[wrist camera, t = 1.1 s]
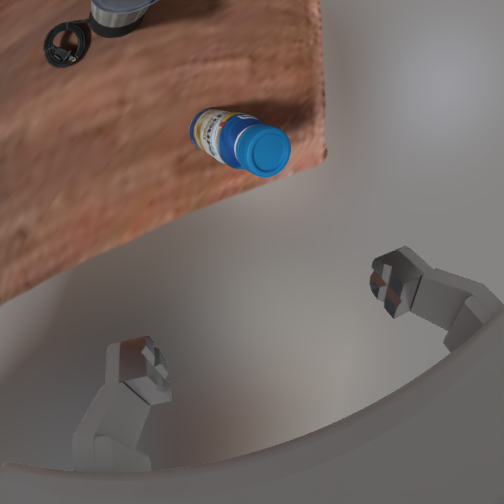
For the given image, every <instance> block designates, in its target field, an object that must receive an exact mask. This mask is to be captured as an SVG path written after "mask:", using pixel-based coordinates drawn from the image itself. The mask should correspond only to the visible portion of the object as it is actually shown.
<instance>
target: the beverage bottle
mask: <svg viewBox="0 0 504 504" xmlns="http://www.w3.org/2000/svg"><path fill="white" fill-rule="evenodd" d="M189 136H190V139H191V141H192V143H193V144H194V145H195V146H196V147H197V148H198V149H200V150H202V151H205V152H206V153H208V154H210V155H211V156H213V157H214V158H215V159H217V160H218V161H219V162H221V163H223V164H226V165H228V166H230V167H232V168H235V169H246V170H247V171H249V172H251V173H252V174H254V175H257V176H260V177H270V176H273V175H276V174H277V173H279V172H280V171H281V170H282V169H283V168H284V167H285V165H286V164H287V162H288V160H289V157H290V152H291V145H290V141H289V138H288V137H287V135H286V134H285V133H284V132H283V131H282V130H280V129H278V128H276V127H274V126H270V125H266V124H264V123H263V122H262V121H261V120H259V119H258V118H256V117H254V116H251V115H247V114H245V113H241V112H227V111H222V110H219V109H214V108H210V109H205V110H202V111H201V112H199V113H198V114H197V115H196V116H195V117H194V118H193V119H192V121H191V123H190V127H189Z"/></svg>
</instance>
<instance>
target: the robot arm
mask: <svg viewBox="0 0 504 504" xmlns="http://www.w3.org/2000/svg"><path fill="white" fill-rule="evenodd" d="M372 268H373V270H374V272H373V273H372V275H371V276H370V287H371V290H372V292H373V294H374V296H375V297H376V298H377V299H378V300H381V301H383V302H384V308H385V309H386V310H387V312H388V313H389V314H390V315H391V316H392V318H393V319H395V318H396V317H399V316H400V315H402V314H404V313H406V312H408V311H410V310H411V311H410V312H412V313H414V314H416V315H418V316H420V317H422V318H424V319H426V320H428V321H430V322H432V323H433V324H436V325H437V326H439V327H441V328H443V329H445V330H447V331H448V333H447V335H446V337H445V338H444V342H443V343H444V345H445V346H446V347H447V348H448V350H449V351H450V352H451V353H450V354H449V355H448V356H446V357H445V358H443V359H442V360H441V361H439V362H438V363H437V364H435V365H434V366H432V367H431V368H430V369H428V370H427V371H425V372H424V373H422V374H421V375H419V376H418V377H416V378H415V379H414V380H412V381H410V382H409V383H407V384H406V385H404V386H402V387H401V388H399V389H397V390H396V391H394V392H393V393H391V394H389V395H387V396H386V397H384V398H382V399H380V400H379V401H377V402H375V403H373V404H371V405H369V406H368V407H366V408H364V409H362V410H360V411H358V412H356V413H354V414H352V415H350V416H348V417H346V418H343V419H342V420H339V421H337V422H335V423H332V424H331V425H328V426H326V427H323V428H321V429H319V430H316V431H314V432H311V433H309V434H306V435H304V436H301V437H298V438H296V439H293V440H290V441H287V442H284V443H281V444H279V445H275V446H272V447H269V448H266V449H263V450H259V451H256V452H252V453H249V454H245V455H241V456H237V457H233V458H229V459H225V460H221V461H216V462H211V463H206V464H200V465H195V466H189V467H182V468H175V469H167V470H157V471H151V466H150V460H149V457H148V456H147V455H145V454H143V453H141V452H139V451H137V450H135V447H136V444H137V441H138V439H139V436H140V433H141V431H142V428H143V425H144V423H145V420H146V418H147V415H148V412H149V410H150V407H151V406H150V405H155V404H159V403H163V402H168V401H171V400H172V398H171V391H170V384H169V383H168V382H167V381H166V379H165V378H166V377H167V375H168V367H167V363H166V360H165V357H164V355H163V353H162V352H161V351H160V349H159V348H156V347H154V341H153V340H152V338H151V337H150V336H143V337H139V338H135V339H130V340H126V341H122V342H118V343H114V344H109V346H108V348H107V360H106V378H105V385H104V386H101V388H100V390H99V392H98V393H97V395H96V397H95V398H94V400H93V402H92V403H91V405H90V407H89V408H88V410H87V412H86V414H85V415H84V417H83V419H82V421H81V422H80V424H79V426H78V428H77V430H76V431H75V433H74V435H73V468H74V471H63V470H55V469H47V468H40V467H34V466H29V465H24V464H19V463H15V462H5V463H4V464H3V465H2V467H1V468H0V504H504V304H503V303H502V302H501V301H500V300H499V299H498V298H497V297H496V296H495V295H494V294H493V293H492V292H491V291H490V290H489V289H488V288H487V287H486V286H485V285H484V284H481V283H478V282H475V281H473V280H470V279H467V278H464V277H461V276H458V275H455V274H452V273H449V272H446V271H443V270H440V269H437V268H436V269H433V268H431V267H430V266H429V265H428V264H427V263H426V262H425V261H424V260H423V259H422V258H421V257H419V256H418V255H417V254H416V253H415V252H414V251H413V250H412V249H410V248H409V247H407V246H404V247H401V248H399V249H396V250H395V251H392V252H389V253H387V254H384V255H382V256H380V257H377V258H375V259H374V260H373V262H372Z"/></svg>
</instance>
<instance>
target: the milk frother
mask: <svg viewBox="0 0 504 504" xmlns="http://www.w3.org/2000/svg"><path fill="white" fill-rule="evenodd" d="M157 1H158V0H91V12H90V16H89V19H86V20H78V21H71V22H65V23H61V24H59V25H57V26H55V27H54V28H52V29H51V30H50V31H49V33H48V34H47V36H46V37H45V40H44V55H45V58H46V60H47V61H48V63H49V64H50V65H52V66H54V67H57V68H64V67H67V66H69V65H71V64H73V63H74V62H75V61H76V60H77V59H78V58H79V57H80V55H81V54H82V52H83V50H84V48H85V34H84V32H83V30H82V29H81V28H80V27H79V26H77V25H76V23H89V24H90V27H91V29H92V30H93V31H94V32H95V33H96V34H97V35H99V36H102V37H107V38H115V37H120V36H123V35H126V34H128V33H129V32H131V31H132V30H134V29H135V28H136V27H137V26H138V25H139V23H140V22H141V21H142V19H143V16H144V13H145V12H146V10H147V9H148V8H149V6H150V5H152V4H154V3H156V2H157ZM64 30H70V31H73V32H74V33H75V34H76V36H77V38H78V48H77V51H76V53H75V55H74V56H72V55H71V51H72V50H70V51H67V50H65V49H61V48H60V47H56V46H55V45H53V39H54V37H55V36H56V35H57V34H58V33H59V32H61V31H64ZM53 53H54V54H53ZM54 55H56V56H58V57H59V58H61V60H58V59H57V58H56V57H54Z"/></svg>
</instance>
